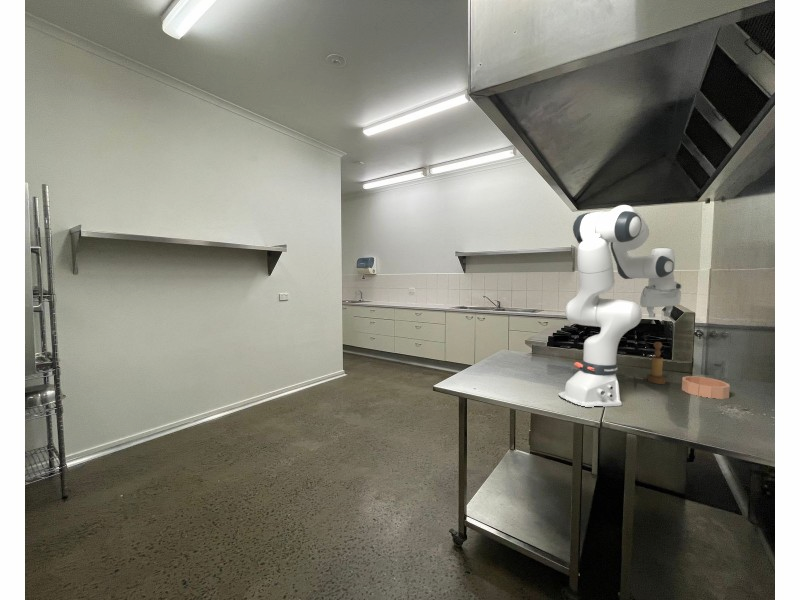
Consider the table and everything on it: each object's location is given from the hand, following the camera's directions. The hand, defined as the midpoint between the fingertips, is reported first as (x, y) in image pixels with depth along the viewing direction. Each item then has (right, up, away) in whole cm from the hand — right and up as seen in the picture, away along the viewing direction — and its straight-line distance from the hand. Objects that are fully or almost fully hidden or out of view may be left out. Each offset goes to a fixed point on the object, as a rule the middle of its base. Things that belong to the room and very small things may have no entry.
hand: (659, 316), depth 146 cm
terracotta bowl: (+9, -30, -12) cm, 34 cm away
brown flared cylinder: (0, -29, +2) cm, 30 cm away
